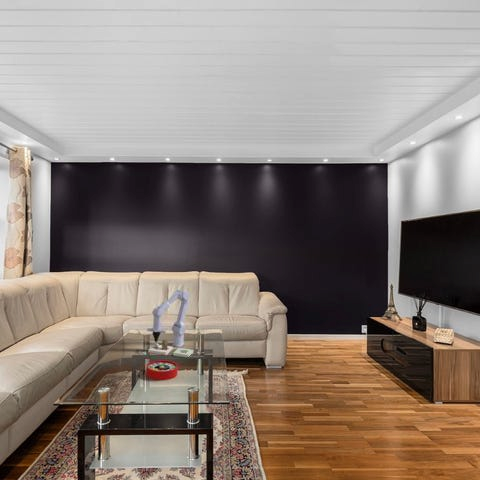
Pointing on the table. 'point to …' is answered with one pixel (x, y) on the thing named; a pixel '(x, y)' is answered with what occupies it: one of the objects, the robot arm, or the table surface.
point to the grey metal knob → (155, 345)
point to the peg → (164, 344)
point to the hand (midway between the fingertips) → (156, 341)
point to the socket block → (160, 350)
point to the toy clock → (161, 370)
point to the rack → (185, 351)
